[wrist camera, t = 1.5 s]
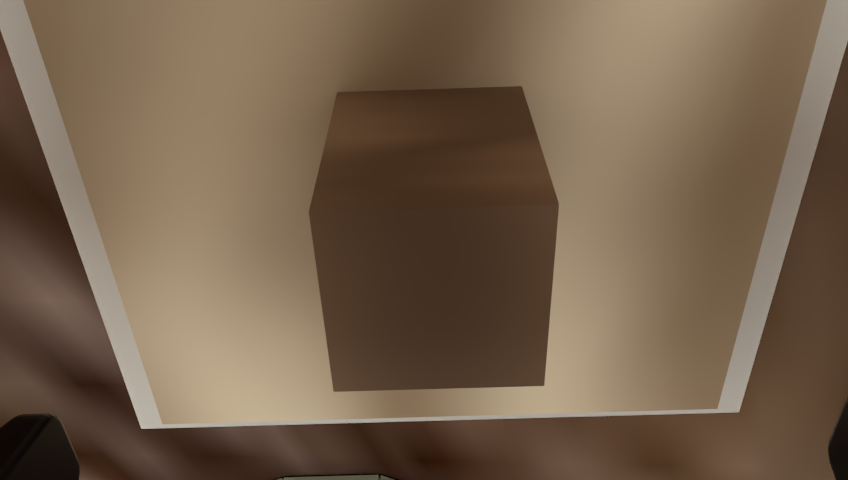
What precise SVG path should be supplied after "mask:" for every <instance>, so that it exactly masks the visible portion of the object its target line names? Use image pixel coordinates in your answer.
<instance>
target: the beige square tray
mask: <svg viewBox="0 0 848 480" xmlns="http://www.w3.org/2000/svg"><path fill="white" fill-rule="evenodd" d="M23 1H24V4H25V7H26V10H27V13H28V16H29V19H30V22H31V25H32V28H33V31H34V35H35V38H36V41H37V44H38V47H39V50H40V53H41V56H42V59H43V62H44V65H45V68H46V71H47V74H48V77H49V80H50V83H51V86H52V89H53V92H54V95H55V98H56V102H57V105H58V108H59V111H60V114H61V117H62V120H63V123H64V126H65V129H66V132H67V135H68V138H69V141H70V144H71V147H72V150H73V153H74V156H75V159H76V162H77V165H78V168H79V172H80V175H81V178H82V181H83V184H84V187H85V190H86V193H87V196H88V199H89V202H90V205H91V208H92V211H93V214H94V217H95V220H96V223H97V226H98V229H99V232H100V235H101V238H102V242H103V245H104V248H105V251H106V254H107V257H108V260H109V263H110V266H111V269H112V272H113V275H114V278H115V281H116V284H117V287H118V290H119V293H120V296H121V299H122V302H123V305H124V309H125V312H126V315H127V318H128V321H129V324H130V327H131V330H132V333H133V336H134V339H135V342H136V345H137V348H138V351H139V354H140V357H141V360H142V363H143V366H144V369H145V372H146V375H147V379H148V382H149V385H150V388H151V391H152V394H153V397H154V400H155V403H156V406H157V409H158V412H159V415H160V418H161V421H162V424H191V423H227V422H263V421H299V420H336V419H372V418H408V417H444V416H480V415H516V414H552V413H589V412H625V411H661V410H697V409H717V408H718V405H719V401H720V397H721V394H722V390H723V386H724V382H725V379H726V375H727V371H728V367H729V364H730V360H731V356H732V353H733V349H734V345H735V341H736V338H737V334H738V330H739V327H740V323H741V319H742V315H743V312H744V308H745V304H746V300H747V297H748V293H749V289H750V286H751V282H752V278H753V274H754V271H755V267H756V263H757V259H758V256H759V252H760V248H761V245H762V241H763V237H764V233H765V230H766V226H767V222H768V218H769V215H770V211H771V207H772V204H773V200H774V196H775V192H776V189H777V185H778V181H779V177H780V174H781V170H782V166H783V163H784V159H785V155H786V151H787V148H788V144H789V140H790V136H791V133H792V129H793V125H794V122H795V118H796V114H797V110H798V107H799V103H800V99H801V95H802V92H803V88H804V84H805V81H806V77H807V73H808V69H809V66H810V62H811V58H812V55H813V51H814V47H815V43H816V40H817V36H818V32H819V28H820V25H821V21H822V17H823V14H824V10H825V6H826V2H827V0H23Z"/></svg>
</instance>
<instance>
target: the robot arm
mask: <svg viewBox="0 0 848 480" xmlns="http://www.w3.org/2000/svg"><path fill="white" fill-rule="evenodd" d="M828 454H829V460H830V464H831V467H832V470H833V472H834V475H835V478H836V480H848V398H847V399H846V401H845V402H844V405H843V407H842V410H841V413H840V415H839V418H838V420H837V423H836V425H835V428H834V430H833V433H832V435H831V438H830V441H829V447H828ZM79 473H80V471H79V462H78V458H77V456H76V453H75V451H74V449H73V447H72V444H71V442H70V440H69V437H68V435H67V433H66V430H65V428H64V426H63V424H62V422H61V420H60V418H58V417H57V416H56V415H55V414H50V413H49V414H22V415H18V416H16V417H14V418H13V419H11V420H10V421H9V422H7V423H6V424H5V425H3V426H2V427H1V428H0V480H79Z"/></svg>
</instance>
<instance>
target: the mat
mask: <svg viewBox="0 0 848 480" xmlns="http://www.w3.org/2000/svg"><path fill="white" fill-rule="evenodd" d="M0 30H1V33H2V36H3V39H4V42H5V44H6V47H7V50H8V53H9V56H10V59H11V61H12V64H13V67H14V70H15V73H16V76H17V78H18V81H19V84H20V87H21V90H22V93H23V95H24V98H25V101H26V104H27V107H28V110H29V112H30V115H31V118H32V121H33V124H34V126H35V129H36V132H37V135H38V138H39V141H40V143H41V146H42V149H43V152H44V155H45V158H46V160H47V163H48V166H49V169H50V172H51V175H52V177H53V180H54V183H55V186H56V189H57V192H58V194H59V197H60V200H61V203H62V206H63V209H64V211H65V214H66V217H67V220H68V223H69V226H70V228H71V231H72V234H73V237H74V240H75V243H76V245H77V248H78V251H79V254H80V257H81V260H82V262H83V265H84V268H85V271H86V274H87V277H88V279H89V282H90V285H91V288H92V291H93V294H94V296H95V299H96V302H97V305H98V308H99V310H100V313H101V316H102V319H103V322H104V325H105V327H106V330H107V333H108V336H109V339H110V342H111V344H112V347H113V350H114V353H115V356H116V359H117V361H118V364H119V367H120V370H121V373H122V376H123V378H124V381H125V384H126V387H127V390H128V393H129V395H130V398H131V401H132V404H133V407H134V410H135V412H136V415H137V418H138V421H139V424H140V427H141V429H152V428H188V427H224V426H260V425H296V424H333V423H369V422H405V421H441V420H477V419H514V418H550V417H586V416H622V415H658V414H695V413H731V412H739V411H740V407H741V404H742V400H743V397H744V394H745V390H746V387H747V383H748V380H749V377H750V373H751V370H752V366H753V363H754V359H755V356H756V353H757V349H758V346H759V342H760V339H761V336H762V332H763V329H764V325H765V322H766V318H767V315H768V312H769V308H770V305H771V301H772V298H773V295H774V291H775V288H776V284H777V281H778V277H779V274H780V271H781V267H782V264H783V260H784V257H785V253H786V250H787V247H788V243H789V240H790V236H791V233H792V230H793V226H794V223H795V219H796V216H797V212H798V209H799V206H800V202H801V199H802V195H803V192H804V189H805V185H806V182H807V178H808V175H809V171H810V168H811V165H812V161H813V158H814V154H815V151H816V148H817V144H818V141H819V137H820V134H821V130H822V127H823V124H824V120H825V117H826V113H827V110H828V106H829V103H830V100H831V96H832V93H833V89H834V86H835V83H836V79H837V76H838V72H839V69H840V65H841V62H842V59H843V55H844V52H845V48H846V45H847V42H848V0H827V2H826V6H825V10H824V14H823V17H822V21H821V25H820V28H819V32H818V36H817V40H816V43H815V47H814V51H813V55H812V58H811V62H810V66H809V69H808V73H807V77H806V81H805V84H804V88H803V92H802V95H801V99H800V103H799V107H798V110H797V114H796V118H795V122H794V125H793V129H792V133H791V136H790V140H789V144H788V148H787V151H786V155H785V159H784V163H783V166H782V170H781V174H780V177H779V181H778V185H777V189H776V192H775V196H774V200H773V204H772V207H771V211H770V215H769V218H768V222H767V226H766V230H765V233H764V237H763V241H762V245H761V248H760V252H759V256H758V259H757V263H756V267H755V271H754V274H753V278H752V282H751V286H750V289H749V293H748V297H747V300H746V304H745V308H744V312H743V315H742V319H741V323H740V327H739V330H738V334H737V338H736V341H735V345H734V349H733V353H732V356H731V360H730V364H729V367H728V371H727V375H726V379H725V382H724V386H723V390H722V394H721V397H720V401H719V405H718V408H717V409H697V410H661V411H625V412H589V413H552V414H516V415H480V416H444V417H408V418H372V419H336V420H299V421H263V422H227V423H191V424H162V421H161V418H160V415H159V412H158V409H157V406H156V403H155V400H154V397H153V394H152V391H151V388H150V385H149V382H148V379H147V375H146V372H145V369H144V366H143V363H142V360H141V357H140V354H139V351H138V348H137V345H136V342H135V339H134V336H133V333H132V330H131V327H130V324H129V321H128V318H127V315H126V312H125V309H124V305H123V302H122V299H121V296H120V293H119V290H118V287H117V284H116V281H115V278H114V275H113V272H112V269H111V266H110V263H109V260H108V257H107V254H106V251H105V248H104V245H103V242H102V238H101V235H100V232H99V229H98V226H97V223H96V220H95V217H94V214H93V211H92V208H91V205H90V202H89V199H88V196H87V193H86V190H85V187H84V184H83V181H82V178H81V175H80V172H79V168H78V165H77V162H76V159H75V156H74V153H73V150H72V147H71V144H70V141H69V138H68V135H67V132H66V129H65V126H64V123H63V120H62V117H61V114H60V111H59V108H58V105H57V102H56V98H55V95H54V92H53V89H52V86H51V83H50V80H49V77H48V74H47V71H46V68H45V65H44V62H43V59H42V56H41V53H40V50H39V47H38V44H37V41H36V38H35V35H34V31H33V28H32V25H31V22H30V19H29V16H28V13H27V10H26V7H25V4H24V1H23V0H0Z"/></svg>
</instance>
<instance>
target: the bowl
mask: <svg viewBox="0 0 848 480" xmlns="http://www.w3.org/2000/svg"><path fill="white" fill-rule="evenodd" d="M278 480H283V479H282V478H280V479H278ZM284 480H394V479H391V478H388V477H385V476H382V475H381V476H380V477H379V476H378V475H351V476H314V477H284Z"/></svg>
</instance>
